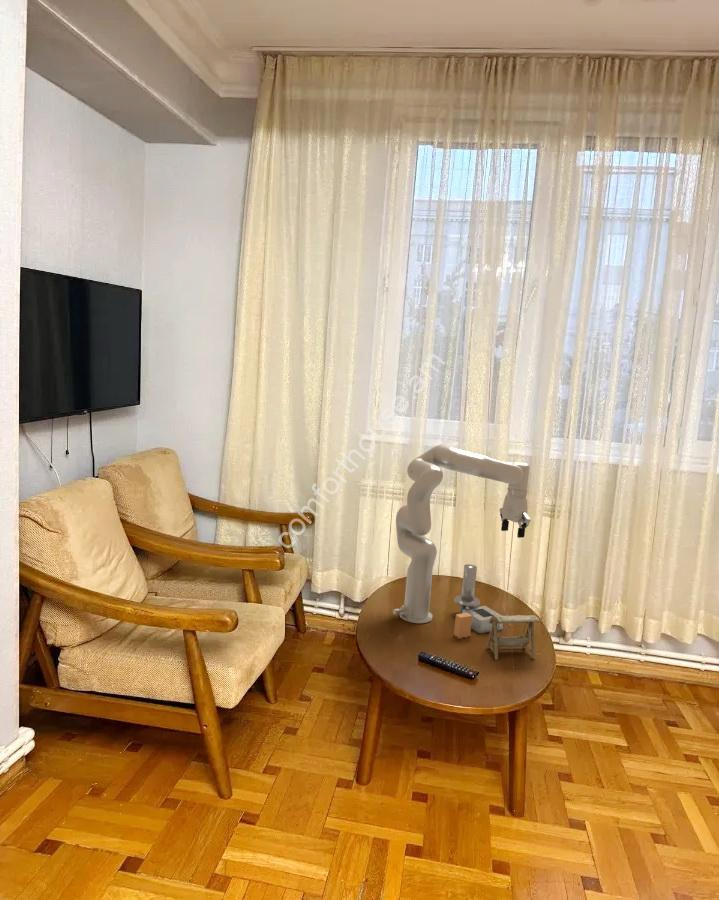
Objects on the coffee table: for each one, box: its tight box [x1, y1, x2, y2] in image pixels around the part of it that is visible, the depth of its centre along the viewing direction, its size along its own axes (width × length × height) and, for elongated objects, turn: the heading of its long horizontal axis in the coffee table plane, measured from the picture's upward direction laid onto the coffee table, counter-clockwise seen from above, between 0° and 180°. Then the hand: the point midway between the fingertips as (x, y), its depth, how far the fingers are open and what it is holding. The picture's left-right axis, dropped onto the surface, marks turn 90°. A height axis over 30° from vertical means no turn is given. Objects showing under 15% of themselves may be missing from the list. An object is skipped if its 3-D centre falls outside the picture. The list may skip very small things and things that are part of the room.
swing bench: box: [485, 614, 541, 661], centre depth 235 cm, size 15×10×15 cm, turn 100°
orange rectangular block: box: [453, 613, 472, 639], centre depth 248 cm, size 3×5×8 cm, turn 118°
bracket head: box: [453, 563, 504, 634], centre depth 261 cm, size 11×20×20 cm, turn 28°
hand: (512, 533), depth 277 cm, fingers open, 9 cm apart
